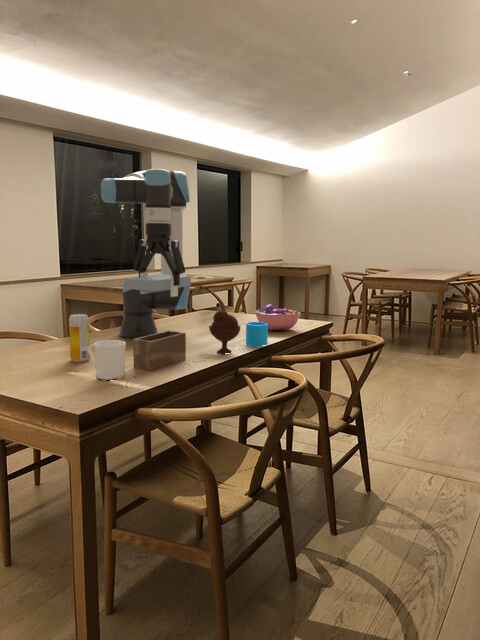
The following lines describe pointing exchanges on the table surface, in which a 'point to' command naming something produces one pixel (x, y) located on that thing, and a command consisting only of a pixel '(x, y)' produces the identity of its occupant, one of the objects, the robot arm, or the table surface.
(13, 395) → the table surface
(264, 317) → the cell model
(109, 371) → the mug
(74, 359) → the beer can
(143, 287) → the lid
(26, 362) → the table surface
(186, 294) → the robot arm
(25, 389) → the table surface
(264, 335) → the mug
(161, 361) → the box
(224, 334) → the ice cream bowl
